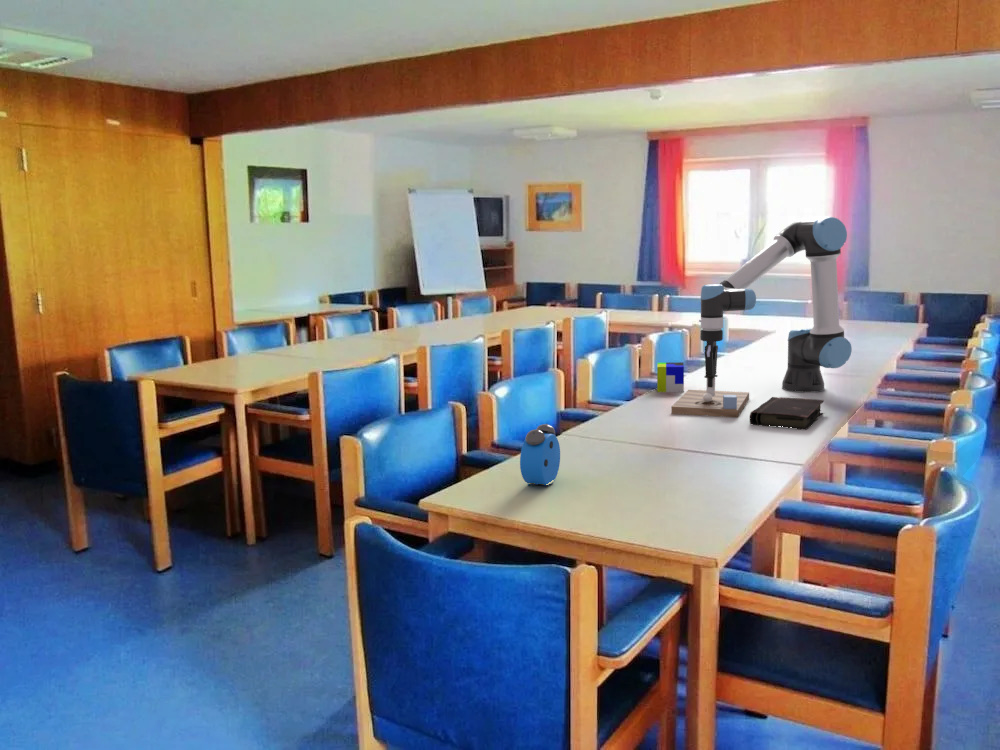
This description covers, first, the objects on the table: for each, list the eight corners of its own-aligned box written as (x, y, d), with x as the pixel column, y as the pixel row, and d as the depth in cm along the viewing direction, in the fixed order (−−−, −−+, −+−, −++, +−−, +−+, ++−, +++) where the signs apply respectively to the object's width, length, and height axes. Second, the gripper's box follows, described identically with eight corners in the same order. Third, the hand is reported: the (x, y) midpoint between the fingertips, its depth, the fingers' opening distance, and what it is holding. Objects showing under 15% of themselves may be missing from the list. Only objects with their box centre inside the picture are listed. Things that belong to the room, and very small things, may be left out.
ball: (712, 391, 285) (710, 395, 282) (713, 399, 286) (711, 403, 283) (703, 391, 286) (701, 395, 284) (704, 399, 287) (702, 403, 285)
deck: (688, 396, 308) (688, 389, 307) (749, 399, 299) (749, 392, 298) (671, 413, 281) (671, 406, 280) (737, 417, 272) (737, 410, 272)
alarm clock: (540, 475, 217) (538, 420, 214) (562, 477, 214) (560, 422, 211) (520, 490, 205) (518, 432, 202) (542, 493, 202) (541, 434, 200)
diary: (748, 425, 262) (748, 410, 262) (769, 410, 283) (769, 395, 282) (809, 431, 252) (809, 416, 252) (826, 415, 273) (826, 400, 272)
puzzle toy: (683, 392, 315) (683, 366, 313) (657, 392, 317) (657, 366, 315) (683, 387, 325) (683, 362, 323) (657, 387, 327) (657, 362, 325)
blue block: (735, 406, 277) (735, 394, 276) (736, 409, 273) (736, 397, 272) (722, 406, 278) (723, 394, 277) (724, 409, 274) (724, 397, 273)
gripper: (704, 326, 292) (703, 391, 296) (697, 331, 280) (696, 398, 284) (725, 327, 289) (724, 392, 293) (719, 331, 277) (718, 400, 281)
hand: (710, 395), depth 289 cm, fingers closed
